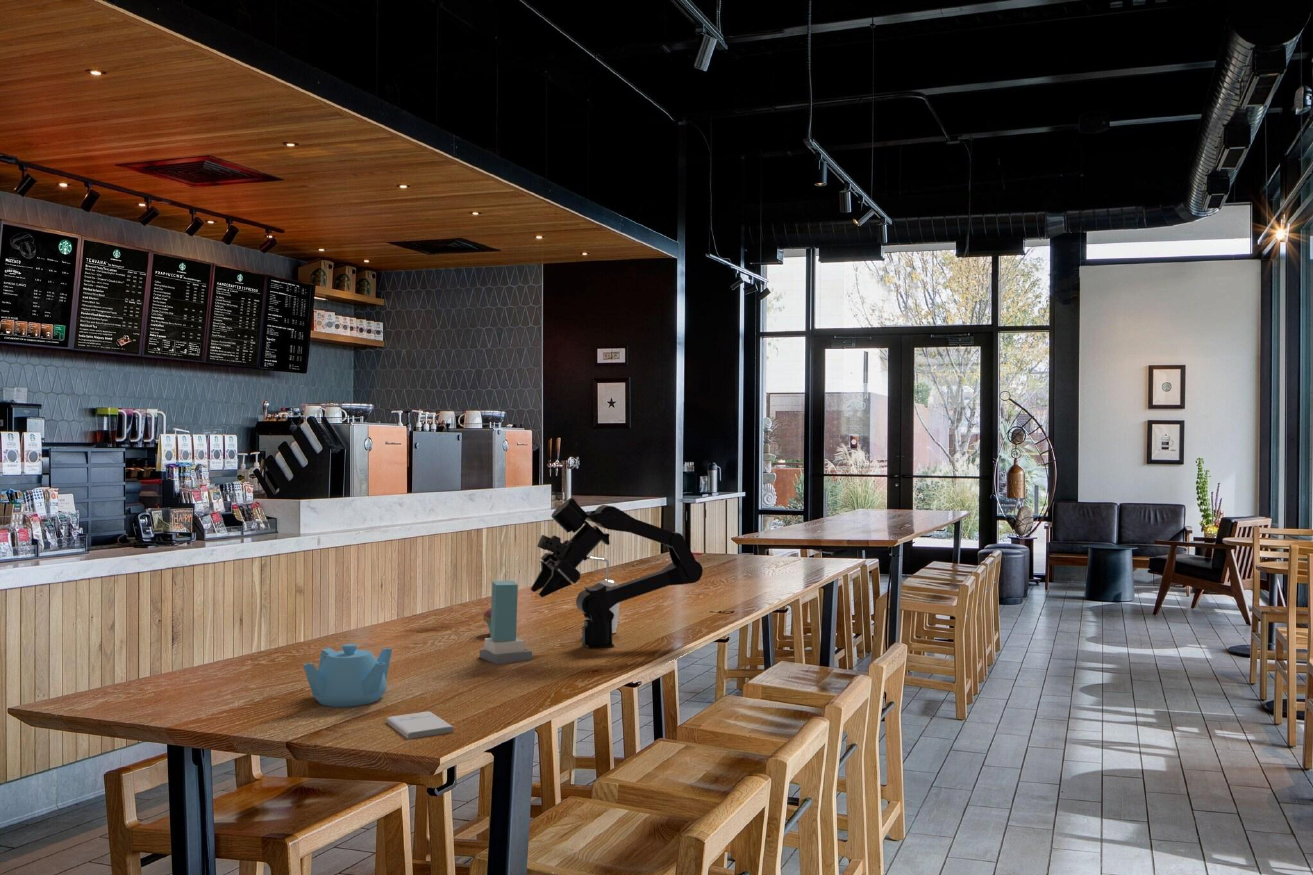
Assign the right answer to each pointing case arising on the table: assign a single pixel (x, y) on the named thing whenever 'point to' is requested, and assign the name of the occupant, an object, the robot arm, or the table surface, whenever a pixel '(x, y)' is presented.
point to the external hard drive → (419, 725)
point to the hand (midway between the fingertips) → (536, 593)
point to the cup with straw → (607, 583)
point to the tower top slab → (504, 646)
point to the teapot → (348, 676)
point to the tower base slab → (505, 656)
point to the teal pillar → (504, 610)
